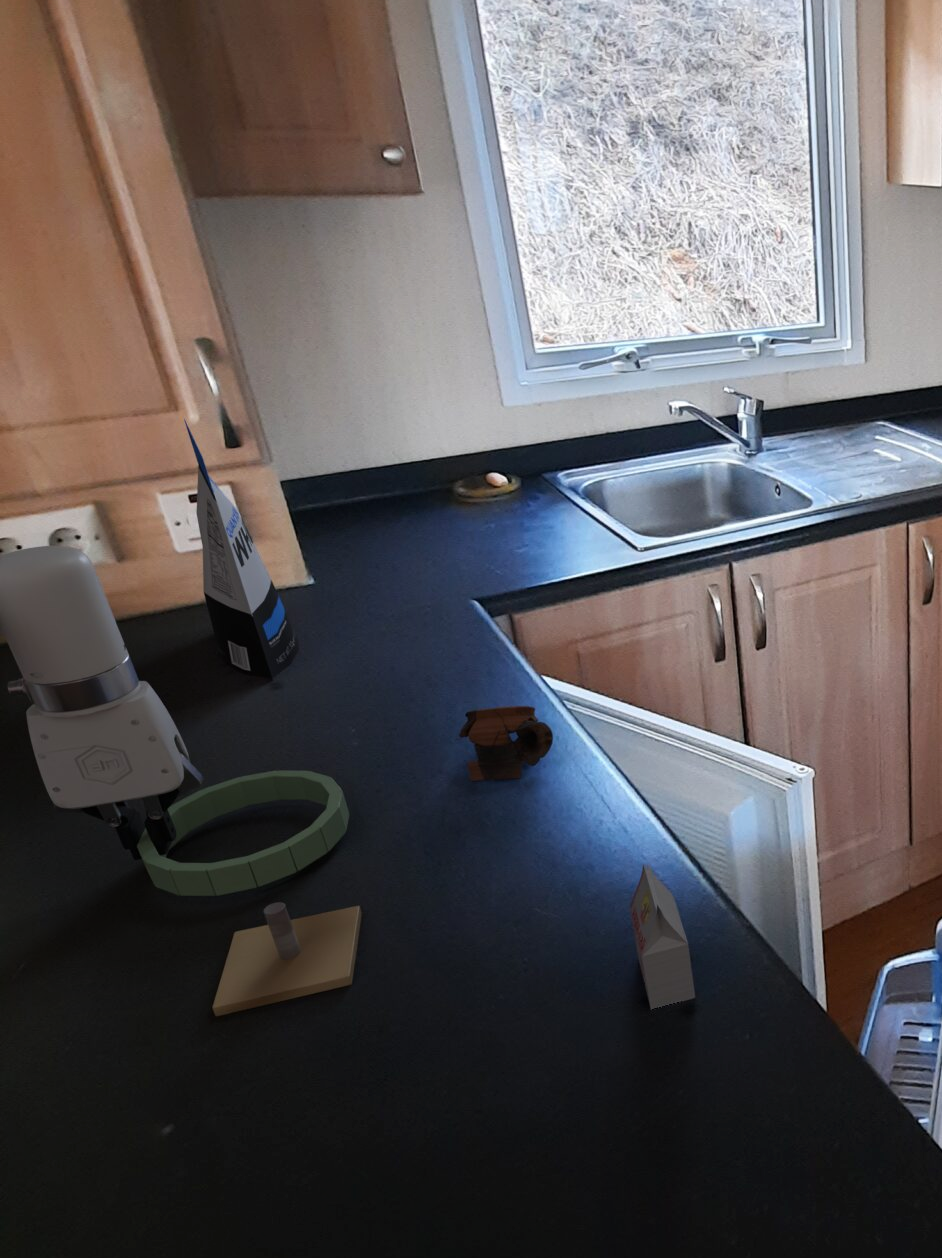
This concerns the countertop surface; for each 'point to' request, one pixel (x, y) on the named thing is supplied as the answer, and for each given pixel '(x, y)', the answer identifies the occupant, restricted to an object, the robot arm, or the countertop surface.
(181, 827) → the hoop
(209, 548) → the protein powder
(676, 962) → the gable top carton
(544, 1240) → the countertop surface
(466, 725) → the pottery mug
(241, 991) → the stand
